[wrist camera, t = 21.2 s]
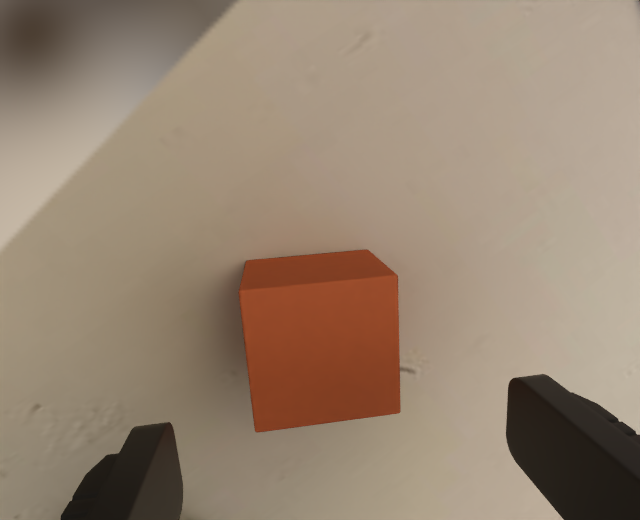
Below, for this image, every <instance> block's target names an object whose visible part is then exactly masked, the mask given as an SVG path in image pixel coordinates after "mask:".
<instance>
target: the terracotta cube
mask: <svg viewBox="0 0 640 520" xmlns="http://www.w3.org/2000/svg"><path fill="white" fill-rule="evenodd" d="M238 293H239V301H240V309H241V318H242V326H243V334H244V343H245V351H246V359H247V368H248V376H249V384H250V393H251V401H252V409H253V418H254V426H255V431H256V432H264V431H272V430H279V429H287V428H294V427H301V426H309V425H316V424H323V423H331V422H338V421H346V420H353V419H360V418H368V417H375V416H383V415H390V414H397V413H400V366H399V315H398V276H397V275H396V274H395V273H394V272H393V271H392V270H391V269H390V268H388V267H387V266H386V265H385V264H384V263H383V262H381V261H380V260H379V259H378V258H377V257H376V256H374V255H373V254H372V253H371V252H370V251H369V250H357V251H346V252H335V253H324V254H313V255H302V256H291V257H280V258H269V259H258V260H248V261H246V264H245V268H244V272H243V276H242V280H241V284H240V288H239V292H238Z"/></svg>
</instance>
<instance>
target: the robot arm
mask: <svg viewBox="0 0 640 520" xmlns="http://www.w3.org/2000/svg"><path fill="white" fill-rule="evenodd" d="M506 438H507V443H508V447H509V450H510V452H511V454H512V456H513V458H514V460H515V461H516V463H517V464H518V465H519V466H520V468H521V469H522V470H523V471H524V472H525V474H526V475H527V476H528V477H529V478H530V480H531V481H532V482H533V483H534V484H535V486H536V487H537V488H538V489H539V490H540V492H541V493H542V494H543V495H544V496H545V498H546V499H547V500H548V501H549V502H550V504H551V505H552V506H553V507H554V508H555V510H556V511H557V512H558V513H559V514H560V516H561V517H562V518H563V519H564V520H640V435H637V434H636V431H634V430H633V429H632V428H630V427H629V426H627V425H626V424H625V423H623V422H619V421H618V418H616V417H615V416H614V415H612V414H611V413H609V412H608V411H607V410H605V409H604V408H603V407H601V406H600V405H598V404H597V403H595V402H592V401H590V400H588V399H586V398H583V397H581V396H579V395H577V394H574V393H570V392H569V391H568V390H566V389H565V388H564V387H562V386H561V385H560V384H558V383H557V382H556V381H554V380H553V379H552V378H550V377H549V376H547V375H544V374H541V375H533V376H526V377H518V378H513V379H512V380H511V381H510V383H509V387H508V405H507V425H506ZM182 502H183V481H182V475H181V469H180V464H179V458H178V452H177V446H176V441H175V435H174V430H173V426H172V424H171V423H170V422H167V423H159V424H151V425H144V426H136V427H134V428H133V429H132V430H131V432H130V434H129V435H128V437H127V439H126V441H125V443H124V445H123V447H122V449H121V451H120V453H118V454H110V455H106V456H105V457H104V458H103V459H102V460H101V461H100V462H99V463H98V464H97V465H96V466H95V467H93V468H92V469H91V470H90V471H89V472H88V473H87V474H86V475H85V477H84V478H83V480H82V482H81V483H80V485H79V487H78V488H77V490H76V492H75V493H74V495H73V499H72V501H70V502H69V503H68V505H67V507H66V508H65V510H64V512H63V513H62V515H61V520H179V518H180V514H181V510H182Z"/></svg>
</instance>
